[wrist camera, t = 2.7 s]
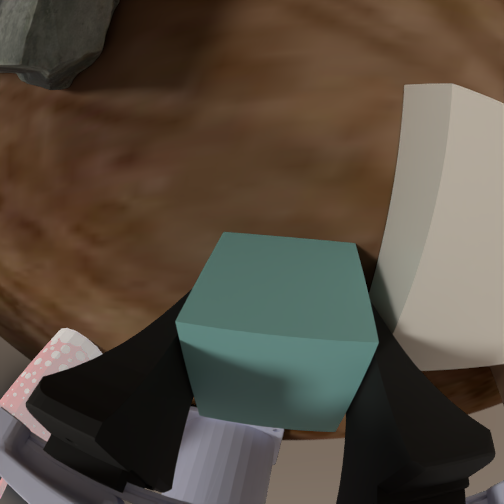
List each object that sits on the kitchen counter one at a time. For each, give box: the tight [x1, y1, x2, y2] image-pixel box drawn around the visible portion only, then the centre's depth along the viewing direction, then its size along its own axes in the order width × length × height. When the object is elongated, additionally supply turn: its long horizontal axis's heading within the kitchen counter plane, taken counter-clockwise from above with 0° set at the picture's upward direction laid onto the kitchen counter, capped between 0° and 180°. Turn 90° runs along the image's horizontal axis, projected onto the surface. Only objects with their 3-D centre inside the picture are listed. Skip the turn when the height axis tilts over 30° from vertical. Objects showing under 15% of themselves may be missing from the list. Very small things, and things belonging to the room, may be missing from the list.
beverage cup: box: [0, 328, 102, 498], centre depth 12 cm, size 6×6×14 cm
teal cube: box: [175, 232, 379, 432], centre depth 10 cm, size 5×5×5 cm
